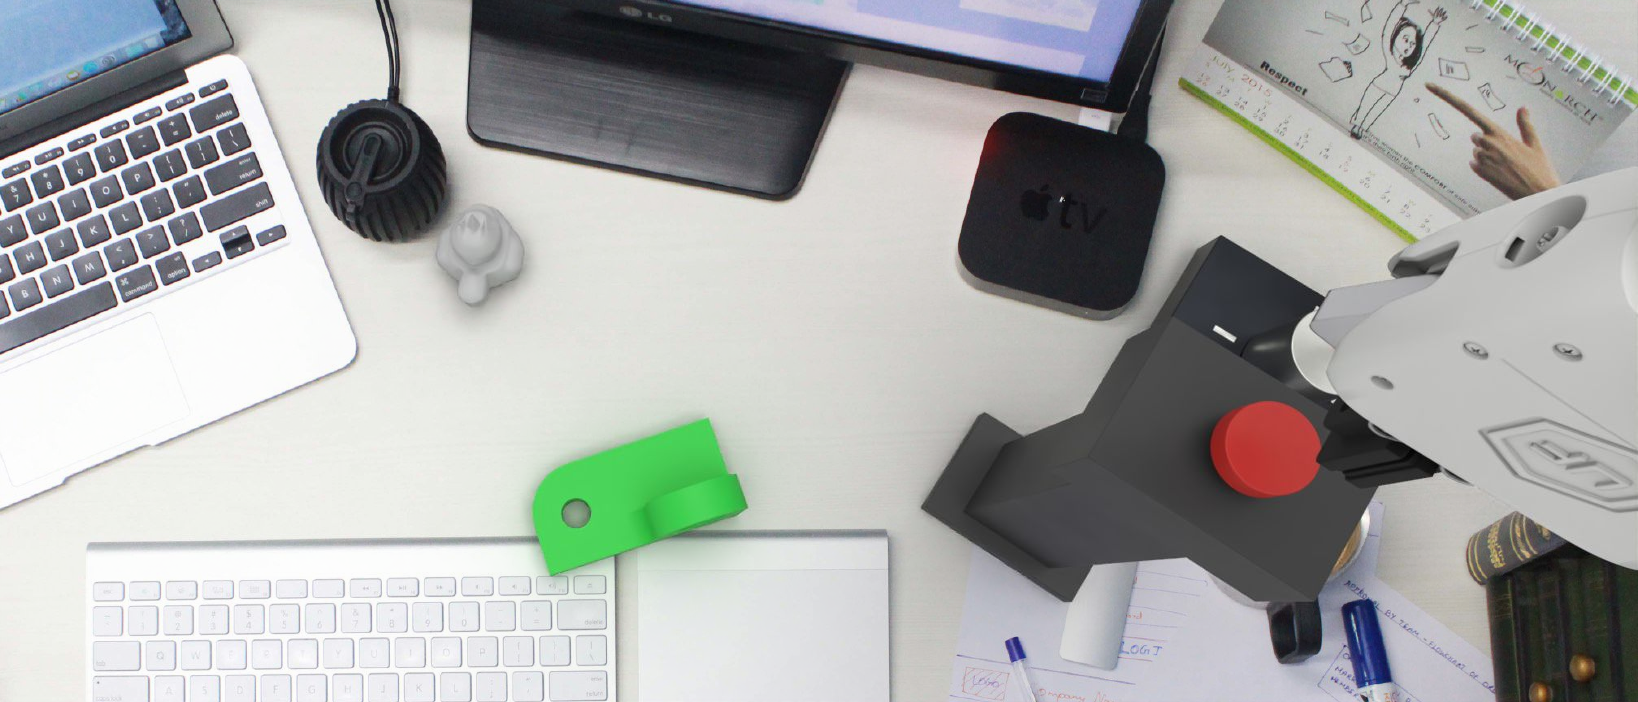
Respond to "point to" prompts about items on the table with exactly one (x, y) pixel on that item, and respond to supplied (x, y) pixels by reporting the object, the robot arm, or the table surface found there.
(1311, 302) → the dial panel
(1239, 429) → the button
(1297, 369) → the dial
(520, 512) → the table surface
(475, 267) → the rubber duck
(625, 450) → the mechanical part
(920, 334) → the table surface
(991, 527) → the button stand
